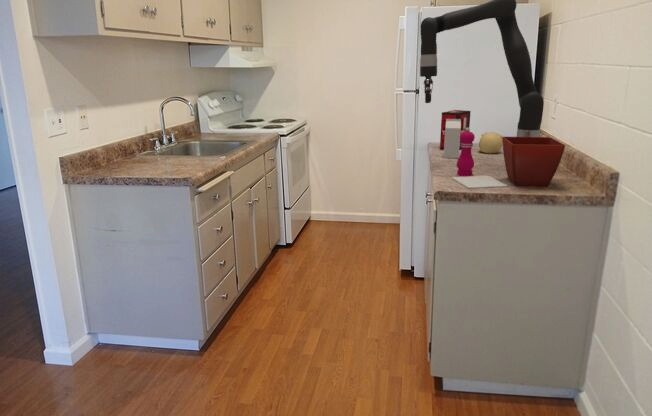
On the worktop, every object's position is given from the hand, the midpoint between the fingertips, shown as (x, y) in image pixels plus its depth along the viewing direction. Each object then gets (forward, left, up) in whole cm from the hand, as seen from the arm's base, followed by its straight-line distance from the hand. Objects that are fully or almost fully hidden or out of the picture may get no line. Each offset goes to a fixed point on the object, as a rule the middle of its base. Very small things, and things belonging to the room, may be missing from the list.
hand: (428, 102), depth 229 cm
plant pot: (-41, +30, -29) cm, 58 cm away
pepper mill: (-17, +20, -29) cm, 39 cm away
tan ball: (-32, -36, -29) cm, 56 cm away
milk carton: (-12, -20, -29) cm, 37 cm away
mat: (-22, +33, -29) cm, 49 cm away
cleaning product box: (-14, -46, -29) cm, 56 cm away
